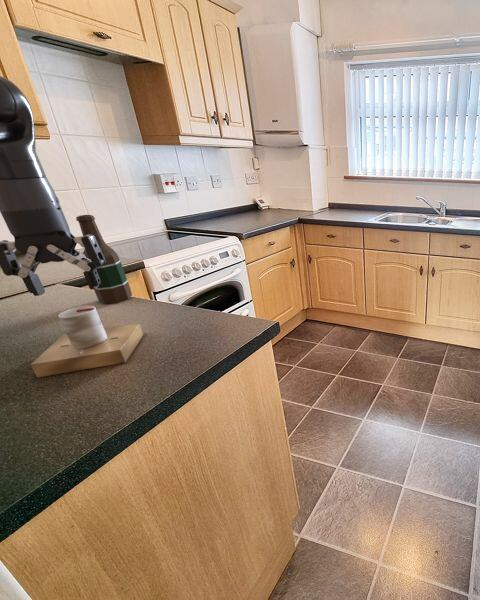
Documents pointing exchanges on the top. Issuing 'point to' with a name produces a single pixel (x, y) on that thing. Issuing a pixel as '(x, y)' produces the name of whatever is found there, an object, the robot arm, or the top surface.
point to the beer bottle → (106, 266)
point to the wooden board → (88, 352)
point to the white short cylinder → (83, 326)
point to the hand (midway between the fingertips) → (68, 291)
